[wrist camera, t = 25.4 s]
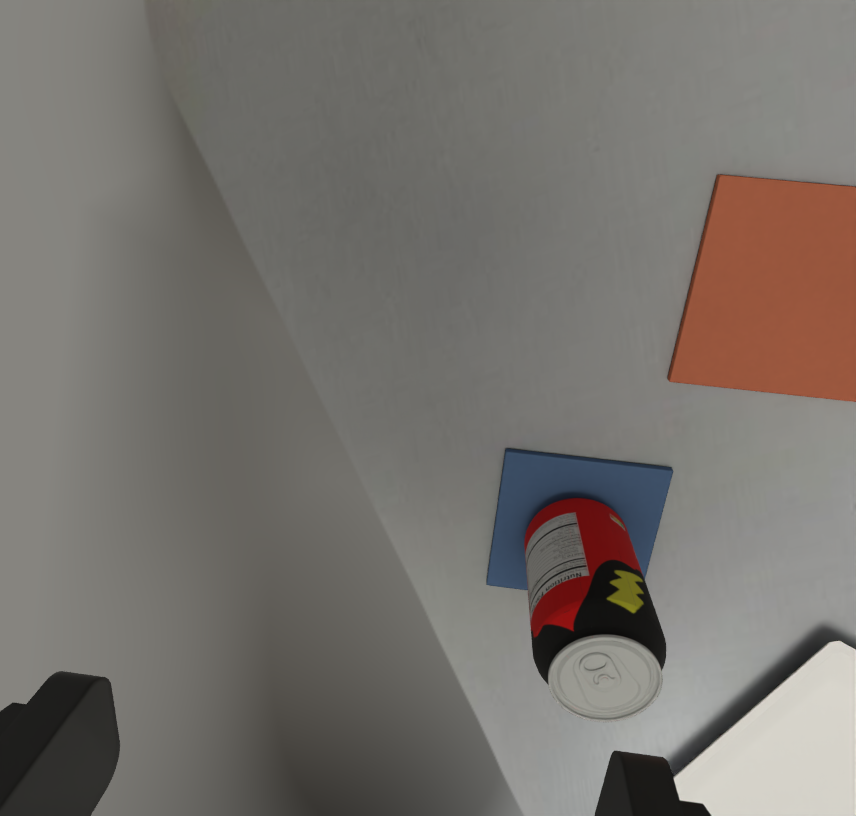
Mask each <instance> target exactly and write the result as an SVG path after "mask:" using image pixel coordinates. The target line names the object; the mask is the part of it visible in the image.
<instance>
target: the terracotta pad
mask: <svg viewBox="0 0 856 816" xmlns="http://www.w3.org/2000/svg"><path fill="white" fill-rule="evenodd" d="M668 380H669V381H670V382H677V383H686V384H696V385H705V386H714V387H723V388H733V389H742V390H751V391H761V392H770V393H779V394H788V395H798V396H807V397H816V398H826V399H835V400H844V401H854V402H856V187H853V186H842V185H831V184H819V183H808V182H797V181H786V180H775V179H764V178H752V177H741V176H730V175H719V174H718V175H717V178H716V182H715V186H714V190H713V194H712V199H711V203H710V207H709V211H708V215H707V219H706V223H705V227H704V231H703V235H702V239H701V244H700V248H699V252H698V256H697V260H696V264H695V268H694V272H693V276H692V280H691V284H690V289H689V293H688V297H687V301H686V305H685V309H684V313H683V317H682V321H681V325H680V330H679V334H678V338H677V342H676V346H675V350H674V354H673V358H672V362H671V366H670V370H669V375H668Z"/></svg>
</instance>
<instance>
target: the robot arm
mask: <svg viewBox="0 0 856 816" xmlns="http://www.w3.org/2000/svg"><path fill="white" fill-rule="evenodd" d="M119 751H120V740H119V734H118V727H117V721H116V714H115V707H114V701H113V694H112V688H111V683H110V681H109V680H108V679H107V678H105V677H99V676H92V675H84V674H78V673H71V672H63V671H60V672H56V673H55V674H53V675H52V676H50V677H49V678H48V679H47V681H45V683H44V684H43V685H42V686H41V687H40V689H39V690H38V691H37V692H36V693H35V695H34V696H33V697H32V698H31V699H30V701H29V702H28V703H27V704H19V703H12V704H10V705H9V706H7V707H6V708H4V709H3V710H2V711H1V712H0V816H91V814H92V812H93V811H94V808H95V807H96V805H97V804H98V802H99V801H100V799H101V797H102V795H103V794H104V792H105V791H106V789H107V787H108V785H109V783H110V781H111V779H112V777H113V774H114V772H115V769H116V765H117V762H118V757H119ZM595 816H711V814H710V813H709V811H708V810H707V809H706V807H705V806H704V804H702V803H695V802H688V801H681V800H679V796H678V793H677V789H676V785H675V782H674V778H673V775H672V772H671V769H670V766H669V764H668V762H667V760H666V759H665V758H663V757H657V756H650V755H643V754H636V753H629V752H622V751H614V752H613V753H612V755H611V758H610V761H609V765H608V768H607V772H606V776H605V779H604V783H603V786H602V790H601V794H600V797H599V801H598V805H597V808H596V812H595Z"/></svg>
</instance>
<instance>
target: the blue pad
mask: <svg viewBox="0 0 856 816" xmlns="http://www.w3.org/2000/svg"><path fill="white" fill-rule="evenodd" d="M672 474H673V470H672V468H671V467H664V466H655V465H646V464H637V463H629V462H620V461H611V460H603V459H594V458H585V457H577V456H568V455H559V454H550V453H542V452H533V451H524V450H516V449H506V450H505V457H504V464H503V471H502V478H501V485H500V492H499V498H498V505H497V512H496V519H495V526H494V533H493V540H492V547H491V554H490V561H489V568H488V575H487V585H491V586H498V587H506V588H514V589H522V590H528V585H527V572H526V560H525V547H524V541H525V535H526V531H527V529H528V526H529V524H530V523H531V521H532V519H533V518H534V517H535V516H536V515H537V514H538V513H539V512H540V511H541V510H542V509H544V508H545V507H547V506H548V505H550V504H552V503H554V502H557V501H560V500H564V499H570V498H585V499H591V500H595V501H598V502H600V503H602V504H604V505H606V506H608V507H609V508H611V509H612V510H613V511H614V512H615V513H617V514H618V516H619V517H620V518H621V519H622V520H623V522H624V524H625V526H626V528H627V531H628V534H629V537H630V539H631V542H632V545H633V548H634V551H635V554H636V557H637V560H638V562H639V565H640V568H641V571H642V574H643V577H644V580H645V576H646V572H647V568H648V565H649V561H650V557H651V553H652V549H653V546H654V542H655V538H656V534H657V531H658V527H659V523H660V519H661V515H662V512H663V508H664V504H665V500H666V496H667V493H668V489H669V485H670V481H671V478H672Z"/></svg>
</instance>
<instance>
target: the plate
mask: <svg viewBox="0 0 856 816" xmlns="http://www.w3.org/2000/svg"><path fill="white" fill-rule="evenodd" d="M673 778H674V782H675V785H676V789H677V793H678V796H679V800H681V801H688V802H695V803H702V804H704V806H705V807H706V809H707V810H708V811H709V813H710V814H711V816H856V650H855V649H853V648H852V647H850V646H848V645H846V644H845V643H843V642H841V641H833V642H829V643H827V644H826V645H825V646H823V647H822V648H821V649H820V650H819V651H818V652H817V653H815V654H814V655H813V656H812V657H811V658H810V659H808V660H807V661H806V662H805V663H804V664H803V665H802V666H800V667H799V668H798V669H797V670H796V671H795V672H794V673H792V674H791V675H790V676H789V677H788V678H787V679H786V680H784V681H783V682H782V683H781V684H780V685H779V686H777V687H776V688H775V689H774V690H773V691H772V692H771V693H769V694H768V695H767V696H766V697H765V698H764V699H763V700H761V701H760V702H759V703H758V704H757V705H756V706H754V707H753V708H752V709H751V710H750V711H749V712H748V713H746V714H745V715H744V716H743V717H742V718H741V719H740V720H738V721H737V722H736V723H735V724H734V725H733V726H732V727H730V728H729V729H728V730H727V731H726V732H725V733H723V734H722V735H721V736H720V737H719V738H718V739H717V740H715V741H714V742H713V743H712V744H711V745H710V746H709V747H707V748H706V749H705V750H704V751H703V752H702V753H700V754H699V755H698V756H697V757H696V758H695V759H694V760H692V761H691V762H690V763H689V764H688V765H687V766H686V767H684V768H683V769H682V770H681V771H680V772H679V773H677V774H676V775H675V776H674V777H673Z"/></svg>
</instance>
